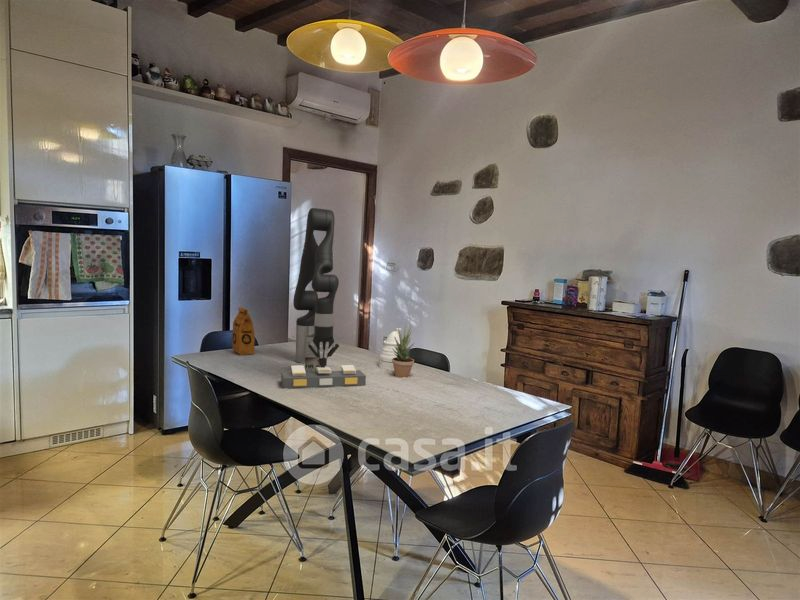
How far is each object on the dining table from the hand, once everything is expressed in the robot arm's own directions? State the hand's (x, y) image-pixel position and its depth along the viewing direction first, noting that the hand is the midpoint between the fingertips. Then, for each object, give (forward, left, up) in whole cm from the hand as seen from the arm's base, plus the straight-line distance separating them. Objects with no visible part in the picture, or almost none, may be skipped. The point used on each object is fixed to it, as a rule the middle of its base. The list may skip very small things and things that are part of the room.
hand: (322, 366), depth 226 cm
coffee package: (-61, -28, -6) cm, 68 cm away
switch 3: (+3, +10, -1) cm, 10 cm away
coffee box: (-17, 0, -6) cm, 18 cm away
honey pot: (-23, +37, -7) cm, 44 cm away
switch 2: (+3, 0, -1) cm, 3 cm away
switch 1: (+3, -10, -1) cm, 11 cm away
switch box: (+3, 0, -6) cm, 7 cm away
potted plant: (-6, +36, -6) cm, 37 cm away
